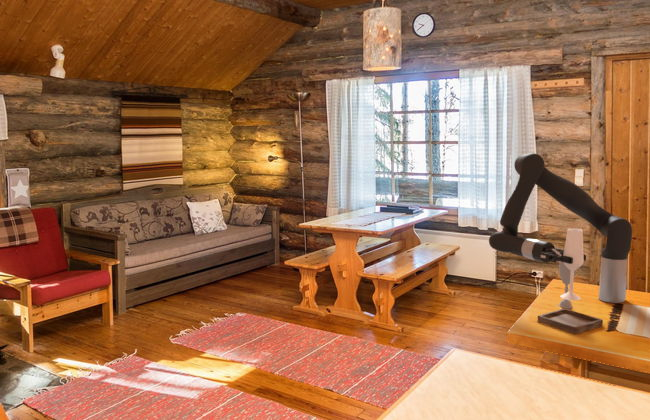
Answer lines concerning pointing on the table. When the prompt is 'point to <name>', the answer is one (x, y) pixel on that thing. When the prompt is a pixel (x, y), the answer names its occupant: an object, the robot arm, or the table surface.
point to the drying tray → (570, 321)
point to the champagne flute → (576, 252)
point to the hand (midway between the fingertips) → (578, 259)
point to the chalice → (565, 279)
